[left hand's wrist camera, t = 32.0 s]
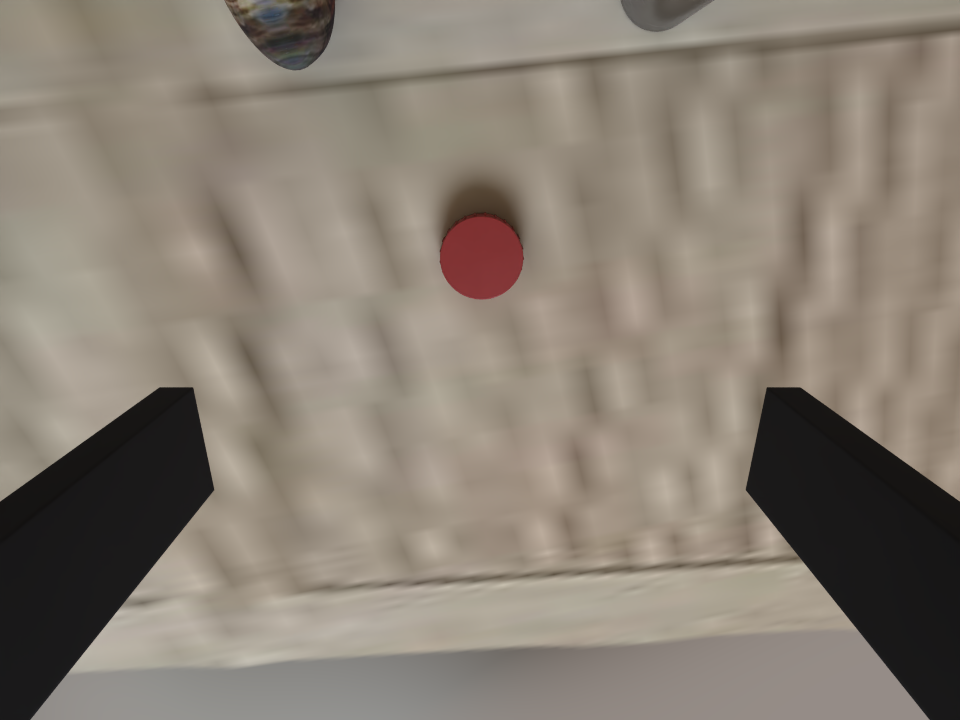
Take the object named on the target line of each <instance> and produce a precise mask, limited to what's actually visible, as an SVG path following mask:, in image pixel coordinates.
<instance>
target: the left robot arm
mask: <svg viewBox="0 0 960 720" xmlns="http://www.w3.org/2000/svg"><path fill="white" fill-rule="evenodd" d="M213 491H214V486H213V481H212V476H211V472H210V467H209V462H208V457H207V452H206V447H205V443H204V438H203V433H202V428H201V423H200V418H199V414H198V409H197V404H196V399H195V394H194V389H193V387H160V388H158V389H157V390H155V391H154V392H153V393H151V394H150V395H148V396H147V397H146V398H144V399H143V400H141V401H140V402H139V403H137V404H136V405H134V406H133V407H132V408H130V409H129V410H127V411H126V412H125V413H123V414H122V415H121V416H119V417H118V418H116V419H115V420H114V421H112V422H111V423H109V424H108V425H107V426H105V427H104V428H102V429H101V430H100V431H98V432H97V433H95V434H94V435H93V436H91V437H90V438H88V439H87V440H86V441H84V442H83V443H81V444H80V445H79V446H77V447H76V448H74V449H73V450H72V451H70V452H69V453H67V454H66V455H65V456H63V457H62V458H60V459H59V460H58V461H56V462H55V463H54V464H52V465H51V466H49V467H48V468H47V469H45V470H44V471H42V472H41V473H40V474H38V475H37V476H35V477H34V478H33V479H31V480H30V481H28V482H27V483H26V484H24V485H23V486H21V487H20V488H19V489H17V490H16V491H14V492H13V493H12V494H10V495H9V496H7V497H6V498H5V499H3V500H2V501H0V720H30V719H31V718H32V717H33V716H34V714H35V713H36V712H37V711H38V709H39V708H40V707H41V706H42V704H43V703H44V702H45V701H46V699H47V698H48V697H49V696H50V694H51V693H52V692H53V691H54V689H55V688H56V687H57V686H58V684H59V683H60V682H61V681H62V679H63V678H64V677H65V676H66V674H67V673H68V672H69V671H70V669H71V668H72V667H73V666H74V664H75V663H76V662H77V661H78V659H79V658H80V657H81V656H82V654H83V653H84V652H85V651H86V650H87V648H88V647H89V646H90V645H91V643H92V642H93V641H94V640H95V638H96V637H97V636H98V635H99V633H100V632H101V631H102V630H103V628H104V627H105V626H106V625H107V623H108V622H109V621H110V620H111V618H112V617H113V616H114V615H115V613H116V612H117V611H118V610H119V608H120V607H121V606H122V605H123V603H124V602H125V601H126V600H127V598H128V597H129V596H130V595H131V593H132V592H133V591H134V590H135V588H136V587H137V586H138V585H139V583H140V582H141V581H142V580H143V578H144V577H145V576H146V575H147V573H148V572H149V571H150V570H151V568H152V567H153V566H154V565H155V563H156V562H157V561H158V560H159V558H160V557H161V556H162V555H163V553H164V552H165V551H166V550H167V548H168V547H169V546H170V545H171V543H172V542H173V541H174V540H175V538H176V537H177V536H178V535H179V533H180V532H181V531H182V530H183V528H184V527H185V526H186V525H187V523H188V522H189V521H190V520H191V518H192V517H193V516H194V515H195V513H196V512H197V511H198V510H199V508H200V507H201V506H202V505H203V503H204V502H205V501H206V500H207V498H208V497H209V496H210V495H211V493H212V492H213ZM746 491H747V492H748V493H749V495H750V496H751V497H752V498H753V500H754V501H755V502H756V503H757V505H758V506H759V507H760V508H761V510H762V511H763V512H764V513H765V515H766V516H767V517H768V518H769V520H770V521H771V522H772V523H773V525H774V526H775V527H776V528H777V530H778V531H779V532H780V533H781V535H782V536H783V537H784V538H785V540H786V541H787V542H788V543H789V545H790V546H791V547H792V548H793V550H794V551H795V552H796V553H797V555H798V556H799V557H800V558H801V560H802V561H803V562H804V563H805V565H806V566H807V567H808V568H809V570H810V571H811V572H812V573H813V575H814V576H815V577H816V578H817V580H818V581H819V582H820V583H821V585H822V586H823V587H824V588H825V590H826V591H827V592H828V593H829V595H830V596H831V597H832V598H833V600H834V601H835V602H836V603H837V605H838V606H839V607H840V608H841V610H842V611H843V612H844V613H845V615H846V616H847V617H848V618H849V620H850V621H851V622H852V623H853V625H854V626H855V627H856V628H857V630H858V631H859V632H860V633H861V635H862V636H863V637H864V638H865V639H866V641H867V642H868V643H869V644H870V646H871V647H872V648H873V649H874V651H875V652H876V653H877V654H878V656H879V657H880V658H881V659H882V661H883V662H884V663H885V664H886V666H887V667H888V668H889V669H890V671H891V672H892V673H893V674H894V676H895V677H896V678H897V679H898V681H899V682H900V683H901V684H902V686H903V687H904V688H905V689H906V691H907V692H908V693H909V694H910V696H911V697H912V698H913V699H914V701H915V702H916V703H917V704H918V706H919V707H920V708H921V709H922V711H923V712H924V713H925V714H926V716H927V717H928V718H929V719H930V720H960V501H958V500H957V499H955V498H954V497H953V496H951V495H950V494H948V493H947V492H946V491H944V490H943V489H941V488H940V487H939V486H937V485H936V484H934V483H933V482H932V481H930V480H929V479H927V478H926V477H925V476H923V475H922V474H920V473H919V472H918V471H916V470H915V469H913V468H912V467H911V466H909V465H908V464H906V463H905V462H904V461H902V460H901V459H899V458H898V457H897V456H895V455H894V454H893V453H891V452H890V451H888V450H887V449H886V448H884V447H883V446H881V445H880V444H879V443H877V442H876V441H874V440H873V439H872V438H870V437H869V436H867V435H866V434H865V433H863V432H862V431H860V430H859V429H858V428H856V427H855V426H853V425H852V424H851V423H849V422H848V421H846V420H845V419H844V418H842V417H841V416H839V415H838V414H837V413H835V412H834V411H833V410H831V409H830V408H828V407H827V406H826V405H824V404H823V403H821V402H820V401H819V400H817V399H816V398H814V397H813V396H812V395H810V394H809V393H807V392H806V391H805V390H803V389H802V388H800V387H767V389H766V394H765V399H764V404H763V409H762V414H761V418H760V423H759V428H758V433H757V438H756V443H755V447H754V452H753V457H752V462H751V467H750V472H749V476H748V481H747V486H746Z"/></svg>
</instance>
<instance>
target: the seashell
mask: <svg viewBox="0 0 960 720" xmlns="http://www.w3.org/2000/svg"><path fill="white" fill-rule="evenodd" d="M225 2H226V4H227V6H228V8H229V10H230V11H231V13H232V15H233V17H234V18H235V20H236V21H237V23H238V24H239V26H240V27H241V29H242V30H243V31H244V33H245V34H246V35H247V37H248V38H249V39H250V40H251V42H252V43H253V44H254V45H255V46H256V47H257V48H258V49H259V50H260V51H261V52H262V53H263V54H264V55H265V56H266V57H267V58H269V59H270V60H271V61H273V62H274V63H276V64H277V65H279V66H281V67H283V68H286V69H290V70H301V69H304V68H306V67H308V66H309V65H311V64H312V63H313V62H314V61H315V60H316V59H317V58H318V57H319V56H320V55H321V54H322V53H323V52H324V50H325V48H326V46H327V45H328V42H329V40H330V37H331V33H332V29H333V24H334V14H335V0H225Z"/></svg>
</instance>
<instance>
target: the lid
mask: <svg viewBox="0 0 960 720" xmlns="http://www.w3.org/2000/svg"><path fill="white" fill-rule="evenodd" d="M519 239H520V238H519V236H518V235H517V234H516V233H515V231H514V228H513V226H510V225H509V224H508V223H507V222H506V220H505V219H504V220H503V219H501V218H499V217H497V216H496V215H491V214H486V212H485V213H478V214H476V213H474V214H472V215H469V216H464V218H462V219H461V220H459V221H458V222H457V221H456V222H455V224H454V225H453V226H452V227H451V229H450V228H449V229H448V232H447V235H446V237H444V239H443V241H442V242H443V244H442V247H441V249H440V252H441V253H440V263H441V268H442V272H443V274H444V276H445V278H446V280H447V281H448V283H449V284H450V285H451V286H452V287H453V288H454V289H455V290H456V291H457V292H459V293H460V294H462V295H464V296H467V297H469V298H473V299H490V298H494V297H497V296H499V295H501V294H503V293H505V292H506V291H507V290H508V289H510V288H511V287H512V286H513V284H514V283H515V282H516V280H517V279H518V277H519V275H520V272H521V270H522V265H523V260H524V257H523V251H522V249H523V247H522V245H521V243H520V241H519Z"/></svg>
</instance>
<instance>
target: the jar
mask: <svg viewBox="0 0 960 720" xmlns="http://www.w3.org/2000/svg"><path fill="white" fill-rule="evenodd" d="M712 1H714V0H621V3H622V6H623V9H624V11H625V13H626V14H627V16H628V17H629V19H630V20H631V21H632V22H633V23H634V24H635V25H637V26H638V27H640V28H642V29H644V30H647V31H654V32H659V31H665V30H668V29H671V28H673V27H675V26H677V25H678V24H680V23H681V22H683V21H684V20H686V19H687V18H689V17H690V16H692V15H693V14H695V13H696V12H698V11H699V10H701V9H702V8H704V7H705V6H707V5H708V4H709V3H711V2H712Z"/></svg>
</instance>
